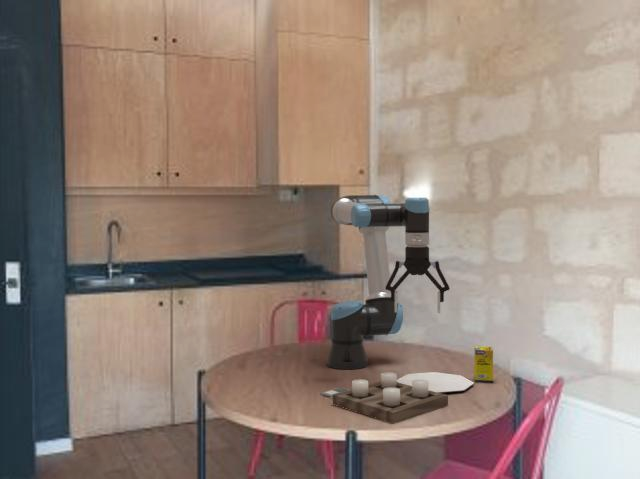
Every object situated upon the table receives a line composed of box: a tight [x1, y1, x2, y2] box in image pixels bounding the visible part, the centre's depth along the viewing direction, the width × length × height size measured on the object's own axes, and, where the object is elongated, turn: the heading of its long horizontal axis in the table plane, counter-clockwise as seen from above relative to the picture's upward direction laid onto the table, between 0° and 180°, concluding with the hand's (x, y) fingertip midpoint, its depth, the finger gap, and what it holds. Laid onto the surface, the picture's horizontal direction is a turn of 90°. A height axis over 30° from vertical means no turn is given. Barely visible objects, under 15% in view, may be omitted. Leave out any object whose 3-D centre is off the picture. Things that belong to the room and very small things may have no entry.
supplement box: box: [473, 346, 494, 384], centre depth 224 cm, size 6×6×11 cm
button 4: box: [412, 380, 428, 397], centre depth 198 cm, size 5×5×4 cm
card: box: [320, 387, 350, 399], centre depth 210 cm, size 9×9×1 cm
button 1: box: [351, 378, 369, 397], centre depth 199 cm, size 5×5×4 cm
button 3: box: [383, 388, 400, 406], centre depth 189 cm, size 5×5×4 cm
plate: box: [397, 371, 474, 394], centre depth 220 cm, size 24×24×2 cm
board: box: [332, 381, 449, 424], centre depth 198 cm, size 24×24×3 cm
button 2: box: [380, 371, 398, 388], centre depth 207 cm, size 5×5×4 cm
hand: (417, 312), depth 215 cm, fingers open, 13 cm apart
